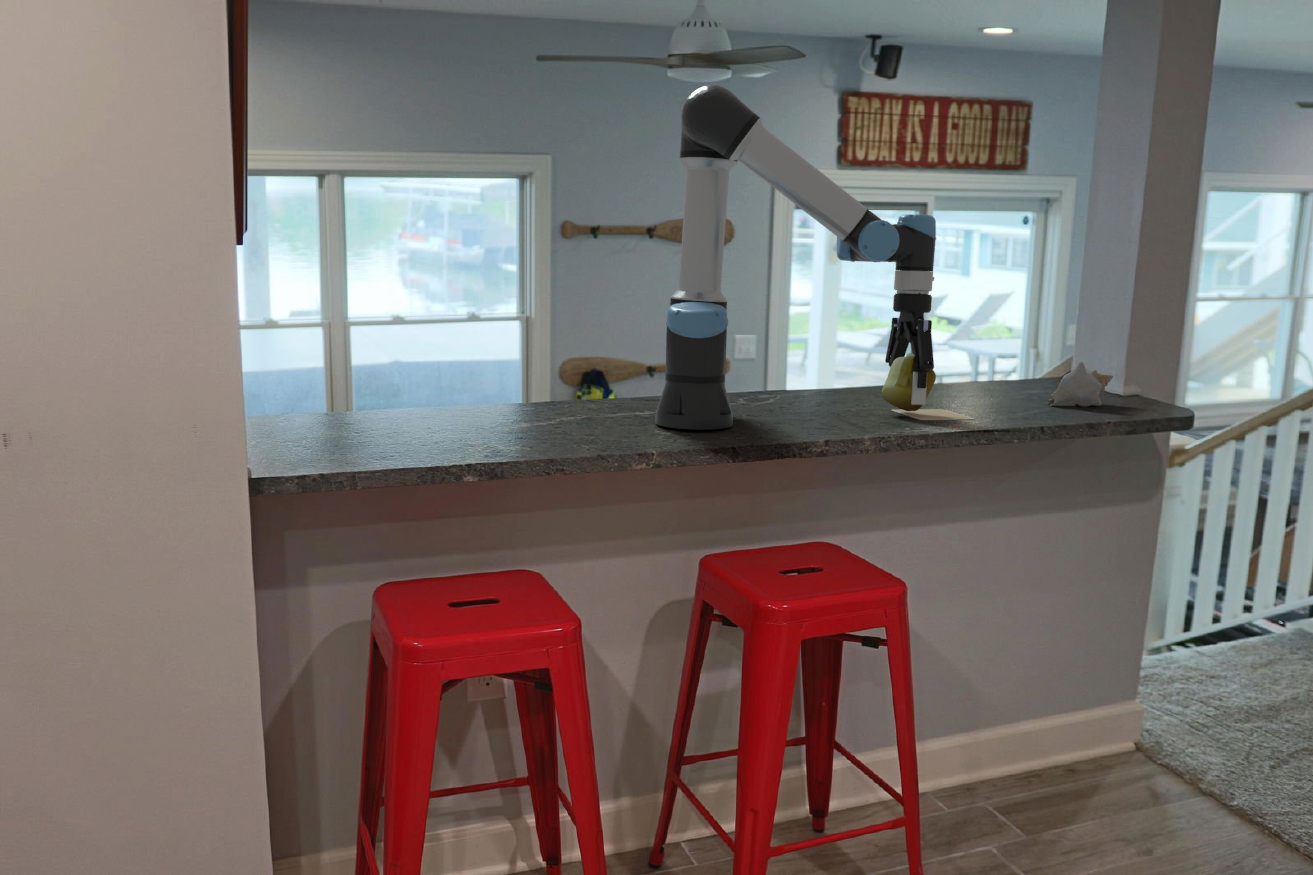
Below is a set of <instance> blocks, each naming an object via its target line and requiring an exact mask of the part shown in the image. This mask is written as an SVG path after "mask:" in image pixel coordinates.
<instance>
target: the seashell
mask: <svg viewBox="0 0 1313 875" xmlns="http://www.w3.org/2000/svg"><path fill="white" fill-rule="evenodd" d="M1113 378H1114V375H1111V374H1102V373H1100V372H1098V371H1097V370H1096V369H1094V370H1091V371H1090V369H1088V368H1086V367H1085V364H1084V362H1083V361H1081V360H1080V361H1079V362H1077V364H1076V365H1075V366H1074V368H1073V369H1072V370H1071V371H1070V372H1069V373H1067V374H1065V375H1064V376H1063V377H1062V378H1061V380H1060V382H1059V384H1058V387H1057V389H1056V390H1055V391H1054V392H1053V393H1051V395H1050V396H1051V398H1050V399H1048V400H1047V405H1048V406H1049V407H1051V406H1055V405H1057V404H1060V403H1065V402H1072V403H1074V404H1075V405H1077V406H1078V407H1084V408H1085V407H1086V408H1087V407H1091V406H1095V407H1101V406H1102V401H1101V399H1100V394H1102V393H1105V392H1106V387H1108V384H1109V383H1110V382H1111V380H1112V379H1113Z"/></svg>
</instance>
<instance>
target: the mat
mask: <svg viewBox="0 0 1313 875" xmlns="http://www.w3.org/2000/svg"><path fill="white" fill-rule="evenodd" d="M890 411H892V412H895V413H898V414H901V415H904V416H906V417H909V418H913V419H915V420H917V421H918V420H919V421H964V420H965V421H976V418H974V417H972V416H967V415H964V414H960V413H957V412H954V411H950V410H947V409H944V408H943V409H939V408H934V409H933V408H932V409H930V408H929V409H924V408H923V409H921V408H920V409H918V410H916V411H905V410H902V409H891V410H890Z"/></svg>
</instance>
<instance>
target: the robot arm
mask: <svg viewBox="0 0 1313 875" xmlns="http://www.w3.org/2000/svg"><path fill="white" fill-rule="evenodd" d="M680 117H681V126H680V127H681V133H680V135H681V137H680V146H679V148H680V152H679V161H680V162H681V163H682V165H683V166H684V167H685V170H686V172H685V176H686V177H685V188H684V189H685V191H684V203H683V204H684V206H683V219H682V233H681V249H680V260H679V261H680V265H679V277H678V278H679V280H678V289H677V290H676V291H675V292H674V293H673V294H672V295H671V296H670V299H669V300H670V301H669V307H668V309H667V312H666V315H667V316H666V318H665V325H666V336H665V337H666V338H665V339H666V342H665V379H664V380H665V381H664V382H665V383H664V387H663V390H662V393H661V396H660V399H659V401H658V404H657V407H656V410H655V416H654V417H655V421H654V422H655V425H657V426H661V427H665V428H669V429H670V428H671V429H680V430H697V431H698V430H705V431H706V430H719V429H720V430H721V429H727V428H731V427H732V426H733V424H734V420H733V419H734V414H733V410H732V406H731V403H730V400H729V397H728V396H729V395H728V392H727V389H726V368H727V367H726V363H727V362H726V361H727V334H728V333H727V332H728V326H729V319H728V311H727V309H728V307H727V306H728V299H727V298H726V297H725V296H724V294H722V291H721V290H722V286H721V285H722V277H723V276H722V275H723V263H724V261H723V260H724V250H725V249H724V248H725V236H726V221H727V208H728V207H727V206H728V194H729V193H728V192H729V182H730V181H729V180H730V172H731V170H732V169H734V168H735V167H736V165H738V162H740V163H741V164H743V165H744V166H745V167H746V168H748V169H749V170H750V171H751V172H753V173H755V175H757V176H758V177H760V178H761V179H762V180H763V181H764V182H766V183H767V184H768V185H770V186H771V187H773V188H774V189H775V190H776V191H777V192H779V193H780V194H781V195H783V196H784V197H785V198H787V200H789V201H790V202H792V203H793V204H795V205H796V206H797V207H798V208H800V210H802V211H803V212H805V213H806V214H808V216H810V217H812V218H813V219H814V221H816V222H818V223H819V224H820V225H822V226H823V227H824V228H825V229H827V230H828V231H829V232H831V233H832V234H833V235H834V236H836V256H837V258H838V260H840V261H845V262H846V261H847V262H852V263H855V262H867V263H868V262H869V263H870V262H871V263H895V270H894V281H893V282H894V283H893V290H894V291H896V293H894V295H893V305H892V306H893V307H892V310H893V311H894V312H898V313H899V317H892V318H891V327H890V328H891V329H890V332H889V333H890V334H889V338H888V343H887V350H886V354H885V363H887V364H888V366H889V369H890V368H891V365H892V363H893V361H894V360H895V359H896V358H899V357H906V355H907V354H906V353H907V350H908V347H909V344H910V348H911V353H912V354H914V355H915V359H914V364H915V368H914V369H913V370H912V371H913V384H912V400H911V404H913V405H922V406H923V405H924V406H925V405H926V404H927V403H926V402H927V398H926V388H927V372H929V370H930V369H933V370H934V368H935V364H934V349H933V338H932V325H933V321H932V319H925V316H924V314H928V313H931V310H932V300H933V296H932V295H931V294H929V293H930V292H932V290H933V282H934V281H935V277H934V268H935V267H934V265H935V253H936V252H935V251H936V241H937V235H936V234H937V233H936V232H937V231H936V230H937V224H936V222H937V221H936V219H935V217H934V216H932V215H930V214H910V213H909V214H901V215H899V217H898V221H897V222H896V223H894V224H892V223H890V222H889V221H887V220H883V219H881V218H880V217H879V216H878V215H876V214H875V213H874V212H873V211H871V210H870V209H868V208H867V207H866V206H865V205H864V204H862V203H861V202H860V201H859V200H857V199H856V198H855V197H853V196H852V195H851V194H849V192H847V191H846V190H844V189H843V188H842V187H840V186H839V185H838V184H837V183H835V182H834V181H833V180H831V179H830V178H829V177H828V176H826V175H825V174H824V173H823V172H821V171H820V170H818V168H816V167H815V166H814V165H812V164H811V163H810V162H809V161H807V160H806V159H804V158H803V157H802V156H801V155H799V154H798V153H797V152H796V151H795V150H793V149H792V148H791V147H789V146H788V145H787V144H785V143H784V142H783V141H782V140H780V139H779V138H777V137H776V136H775V135H774V134H773V133H771V132H770V131H769V130H767V129H766V128H765V127H764V125H763V120H762V118H761V117H760V116H759V115H758V114H756V113H755V112H754V111H753V110H752V109H751V108H749V106H747V105H746V104H745V103H744V102H743V101H742V100H741V99H740V98H738V97H737V95H736V94H735V93H733V92H732V91H731V90H729V89H728V88H726V87H724V86H720V85H718V84H717V85H716V84H715V85H714V84H708V85H703V86H701V87H698V88H697V89H696V90H693V91H692V93H690V94H689V95H688V97H687V98H686V100H685V101H684V104H683V105H682V109H681V116H680Z"/></svg>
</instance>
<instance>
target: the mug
mask: <svg viewBox="0 0 1313 875" xmlns="http://www.w3.org/2000/svg"><path fill="white" fill-rule="evenodd" d="M914 359H915V355H914V354H913V353H912V352H909V353H908V354H906V355H905V357H899V358H896V359H895V360H894V361H893V363H892V365H891V368H890V367H889V371H888V374H887V378H886V379H885V382H884V384H883V386H882V389H881V396H882V399H883V400H884V401H885V402H886V403H888V404H889V405H891V406H893V407H896V408H898V410H905V411H916V410H918V409H921V408H922V407H923V405H913V404H911V400H912V384H913V371H912V370H913V369H914V368H915V364H914ZM936 374H937V373H936V372H935V370H934V368H933V369H930V370H929V372H927V388H926V399H927V398H928V396H929V394H930V393H931V391H932V389H933V387H934V385H935V383H936V379H937V375H936Z"/></svg>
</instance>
